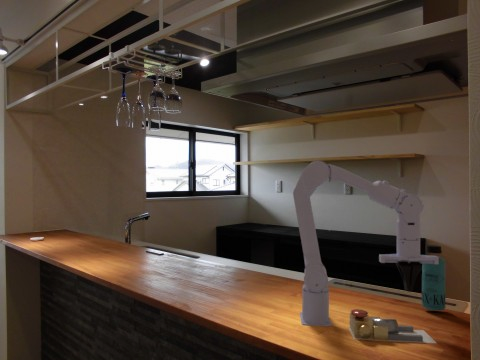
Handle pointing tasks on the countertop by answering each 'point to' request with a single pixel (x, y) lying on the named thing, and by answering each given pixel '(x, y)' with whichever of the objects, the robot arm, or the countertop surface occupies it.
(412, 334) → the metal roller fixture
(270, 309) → the countertop surface
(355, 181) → the robot arm
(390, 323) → the metal cylinder
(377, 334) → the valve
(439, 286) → the beverage bottle
